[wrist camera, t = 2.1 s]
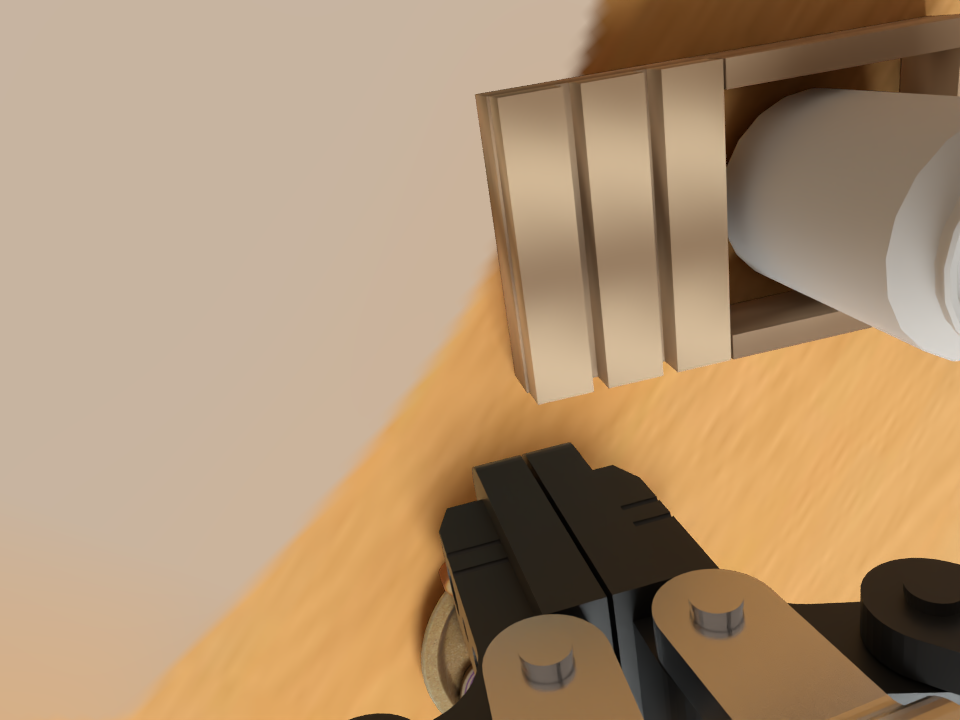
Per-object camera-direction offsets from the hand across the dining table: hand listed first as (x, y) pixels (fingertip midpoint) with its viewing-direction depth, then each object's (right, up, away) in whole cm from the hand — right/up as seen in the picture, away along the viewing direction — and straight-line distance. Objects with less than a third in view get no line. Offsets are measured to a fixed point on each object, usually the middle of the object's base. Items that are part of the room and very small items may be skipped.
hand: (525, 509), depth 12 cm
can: (+12, +9, +20) cm, 25 cm away
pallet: (+9, +9, +20) cm, 23 cm away
